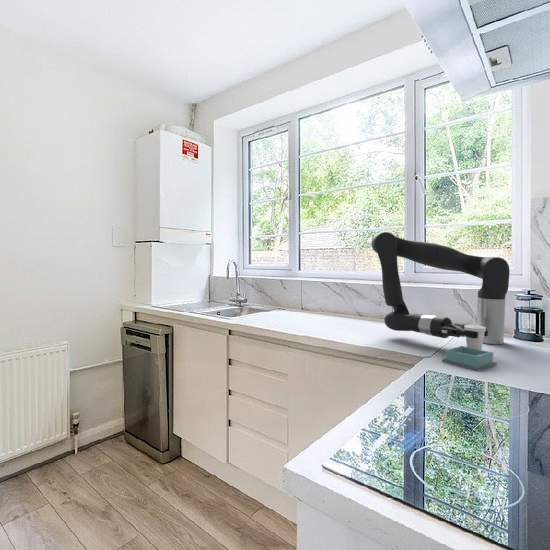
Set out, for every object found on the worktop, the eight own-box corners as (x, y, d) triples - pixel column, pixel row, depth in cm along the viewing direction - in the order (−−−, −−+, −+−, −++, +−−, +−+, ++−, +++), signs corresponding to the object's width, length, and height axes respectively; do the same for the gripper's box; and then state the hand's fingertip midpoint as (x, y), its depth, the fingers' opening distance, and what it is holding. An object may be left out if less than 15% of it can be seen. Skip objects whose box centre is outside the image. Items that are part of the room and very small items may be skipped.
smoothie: (479, 352, 120) (480, 312, 119) (488, 358, 114) (490, 315, 113) (459, 352, 121) (461, 312, 120) (468, 357, 114) (469, 315, 113)
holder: (460, 356, 115) (461, 345, 115) (496, 365, 106) (497, 352, 106) (441, 361, 109) (442, 349, 109) (478, 371, 100) (478, 358, 100)
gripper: (423, 317, 125) (471, 325, 111) (446, 314, 133) (493, 321, 119) (422, 338, 125) (470, 348, 111) (445, 334, 133) (493, 342, 119)
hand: (482, 334), depth 115 cm, fingers closed on smoothie, 6 cm apart
